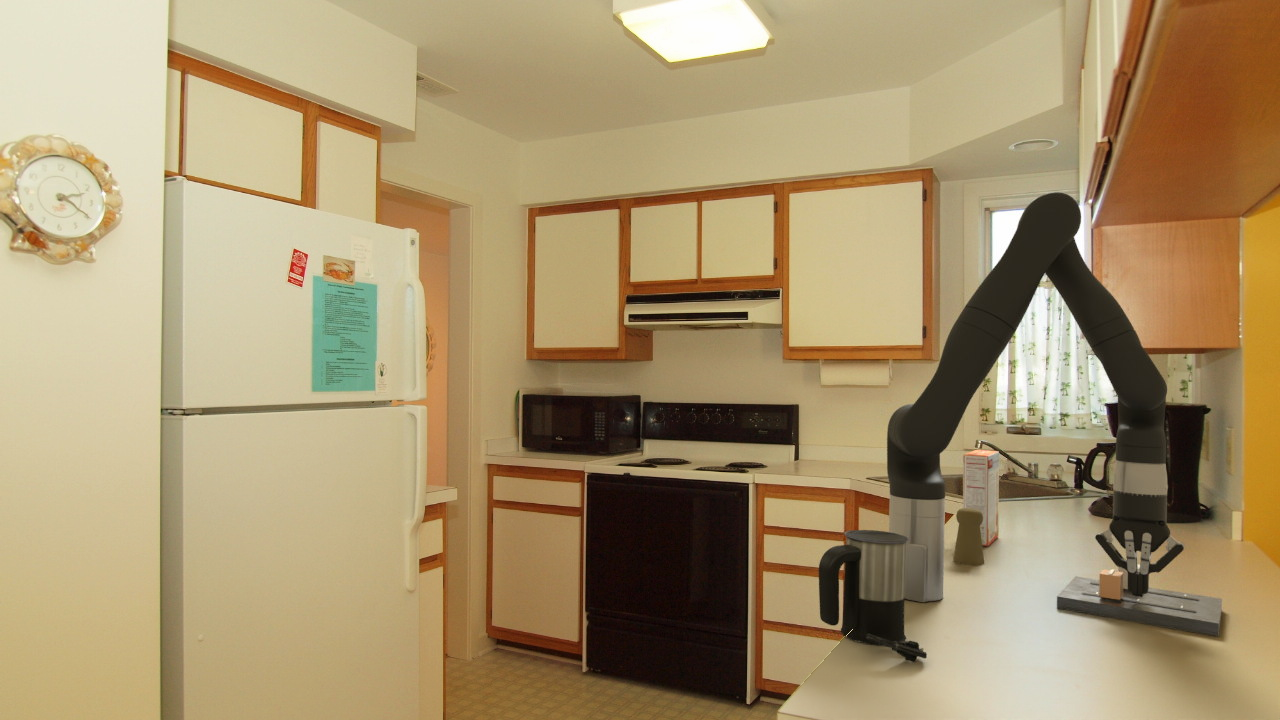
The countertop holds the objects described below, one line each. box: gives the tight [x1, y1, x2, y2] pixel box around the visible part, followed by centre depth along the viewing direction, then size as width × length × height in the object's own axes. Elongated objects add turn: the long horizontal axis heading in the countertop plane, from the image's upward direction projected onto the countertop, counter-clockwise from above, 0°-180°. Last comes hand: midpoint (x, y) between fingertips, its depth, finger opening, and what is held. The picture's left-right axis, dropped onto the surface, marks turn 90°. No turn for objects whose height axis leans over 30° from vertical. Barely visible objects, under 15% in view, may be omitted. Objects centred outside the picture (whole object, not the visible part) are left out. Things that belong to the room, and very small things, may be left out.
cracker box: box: [962, 449, 1000, 547], centre depth 191 cm, size 14×6×21 cm, turn 147°
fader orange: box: [1098, 568, 1124, 600], centre depth 135 cm, size 4×3×4 cm
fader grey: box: [1117, 563, 1140, 589], centre depth 141 cm, size 4×3×4 cm
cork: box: [953, 507, 985, 566], centre depth 169 cm, size 6×6×11 cm
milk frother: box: [818, 529, 928, 663], centre depth 114 cm, size 14×16×15 cm
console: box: [1056, 575, 1223, 638], centre depth 136 cm, size 18×22×2 cm
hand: (1138, 595), depth 133 cm, fingers closed
